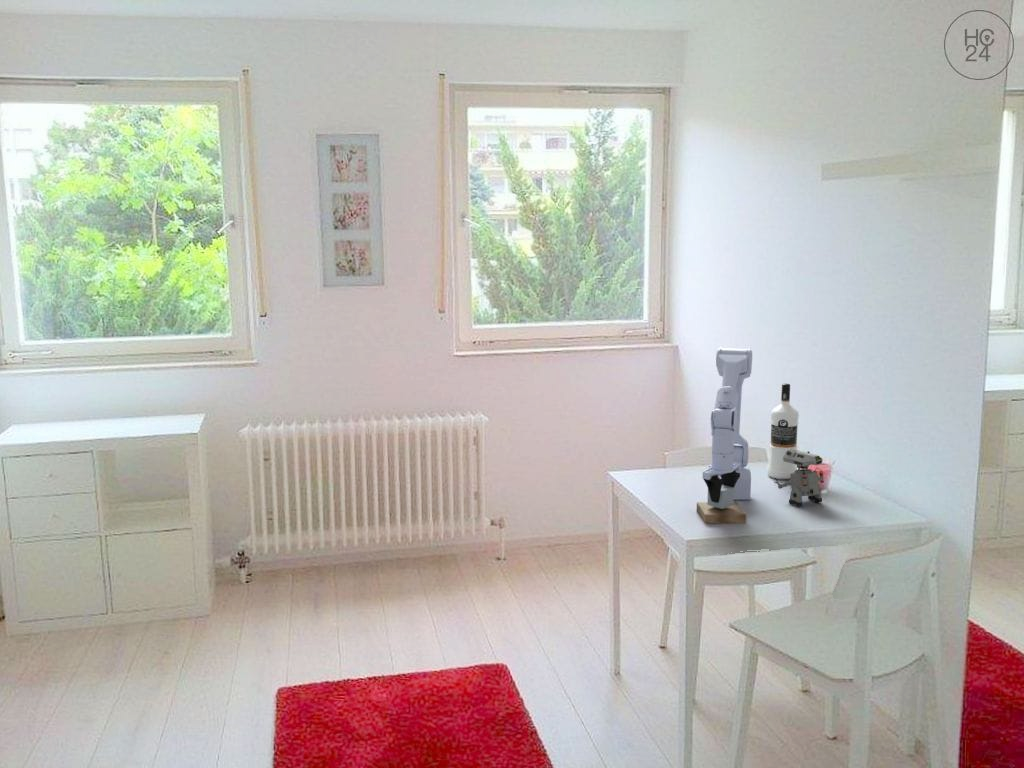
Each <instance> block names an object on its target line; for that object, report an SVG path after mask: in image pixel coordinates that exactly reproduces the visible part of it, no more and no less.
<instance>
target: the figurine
mask: <svg viewBox="0 0 1024 768" xmlns="http://www.w3.org/2000/svg"><path fill="white" fill-rule="evenodd" d="M783 461H784V462H788V463H792V464H796V465H797V470H795V472H792V473H790V476H791V478H790V479H789V480H788V481H786V482H783V483H780V482H779V481H778V479H775V481H774V484H777V485H778V486H777V487H778V489H783V488H786V487H788V486H790V488H791V490H790V494H789V495H790V496H789V499H788V503H789V505H792V506H795V507H797V508H801V507H803V506H804V503H803V497H807V499H808V500H809V501H812V502H815V503H817V504H819V503H822V502H823V498H822V488H821V486H820V483H821V484H822V483H823V484H824V482H825V480H824V471H823V470H822V469H821V468H820V467H817V468H815V470H813V469H810V468H809V466H811V465H813V466H819V465H822V464H823V458H822V457H821V456H820V455H818V454H813V453H810V450H809V451H807V452H805V451H801V450H794V449H789V450H787V451H786V453H785V455H784V457H783ZM817 470H820V471H817ZM818 472H819V474H818Z"/></svg>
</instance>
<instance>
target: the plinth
mask: <svg viewBox="0 0 1024 768" xmlns="http://www.w3.org/2000/svg"><path fill="white" fill-rule="evenodd" d="M707 504H708V501H705V502H703V501H702V502H701V501H700V502H699V501H698V502H697V501H696V513H697V514H698V515H699V517H700V518H701V520H702V521H703V523H704V524H705V523H706V524H707V523H711V525H712V523H717V524H746V521H747V513H746V512H745V511H744V510H743V508H741V506H740V505H739V504H738V503H737V502H736V501H734V505H733V506H730V507H727V508H724V509H721V508H717V507H714V506H710V505H707ZM707 525H708V524H707Z"/></svg>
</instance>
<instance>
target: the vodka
mask: <svg viewBox="0 0 1024 768" xmlns="http://www.w3.org/2000/svg"><path fill="white" fill-rule="evenodd" d="M790 399H791V384H790V383H782V384H781V397H780V404H778V405H777V406H775V407H774V408H773V409H772V410H771V412H770V419H771V420H770V423H771V427H770V443H769V461H768V466H767V468H766V473H767V476H768V477H770V478H772V479H775V478H776V479H777V480H781V479H789V480H791V479H790V478H791V476H790V473H792V472H795V470H798V468H797V465H796V464H792V463H788V462H784V461H783V457H784V455H785V453H786V451H787V450H789V449H794V450H797V449H798V445H797V443H798V426H799V425H798V424H799V416H800V415H799V411H798V410H797V409H796V408H795V407H794V406H792V405H791V403H790V401H791V400H790ZM776 479H775V480H776Z"/></svg>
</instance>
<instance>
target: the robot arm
mask: <svg viewBox="0 0 1024 768" xmlns="http://www.w3.org/2000/svg"><path fill="white" fill-rule="evenodd" d="M752 365H753V351H752V349H751V348H746V349H745V348H723V347H718V348H717V350H716V357H715V366H716V369H717V373H718V375H719V376H720V377H722V387H721V388H719V389H718V390H717V391H716V398H715V402H714V410H713V409H712V410H711V414H710V426H711V427H710V428H711V436H712V441H711V442H712V443H711V464H709V465H708V468H707V469H706V470H703V471H702V480H703V481H704V483H705V485H706V487H707V491H708V490H709V493H710V498H711V501H712V502H715V503H718V502H719V499H720V491H721V487H722V485H726V486H730V487H734V500H735V501H737V500H740V501H743V500H744V501H746V500H748V501H749V500H752V497H751V491H752V490H751V489H752V474H751V469H750V467H747V466H748V464H749V443H748V440H747V439H746V438H744V436H742V435H741V434H740V429H741V428H740V427H741V426H740V425H741V411H742V409H741V407H742V393H743V384H744V382H745V379H748V378H750V377H751V375H752V367H753V366H752Z"/></svg>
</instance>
